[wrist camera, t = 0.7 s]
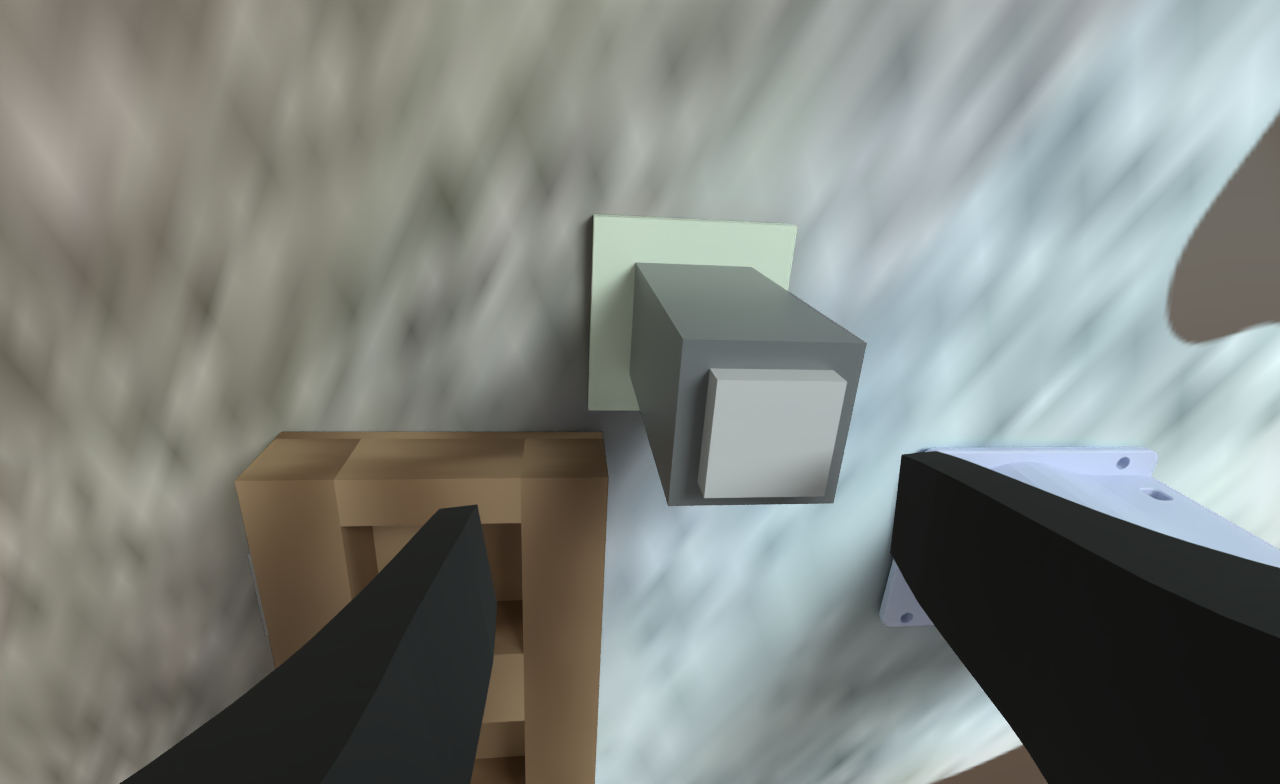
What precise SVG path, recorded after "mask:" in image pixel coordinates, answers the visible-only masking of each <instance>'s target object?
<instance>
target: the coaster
mask: <svg viewBox="0 0 1280 784" xmlns="http://www.w3.org/2000/svg"><path fill="white" fill-rule="evenodd" d="M797 227H798V226H796V225H793V224H784V223H763V222H743V221H722V220H701V219H680V218H660V217H639V216H618V215H597V214H593V245H592V280H591V314H590V348H589V382H588V410H589V411H640V409H639V405H638V402H637V398H636V395H635V392H634V388H633V385H632V381H631V378H630V375H629V373H630V355H631V338H632V320H633V302H634V284H635V266H636V262H637V263H663V264H690V265H716V266H742V267H752V268H754V269H755V270H757V271H758V272H760V273H761V274H763V275H764V276H766V277H767V278H769V279H770V280H772V281H773V282H775V283H776V284H778V285H780V286H781V287H783V288H784V289H786V290H787V291H788V286H789V279H790V273H791V266H792V259H793V253H794V246H795V240H796V233H797Z"/></svg>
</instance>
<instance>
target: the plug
mask: <svg viewBox="0 0 1280 784" xmlns="http://www.w3.org/2000/svg"><path fill="white" fill-rule="evenodd" d="M866 344H867V343H866V342H864V341H863V340H861V339H860V338H858V337H857V336H855V335H854V334H852V333H851V332H849V331H848V330H846V329H845V328H843V327H842V326H840V325H839V324H837V323H836V322H834V321H833V320H831V319H829V318H828V317H826V316H825V315H823V314H822V313H820V312H819V311H817V310H816V309H814V308H813V307H811V306H810V305H808V304H807V303H805V302H804V301H802V300H801V299H799V298H798V297H796V296H795V295H793V294H792V293H790V292H789V291H787V290H786V289H784V288H783V287H781V286H780V285H778V284H776V283H775V282H773V281H772V280H770V279H769V278H767V277H766V276H764V275H763V274H761V273H760V272H758V271H757V270H755V269H754V268H752V267H742V266H716V265H690V264H663V263H637V262H636V266H635V284H634V302H633V320H632V338H631V355H630V373H629V375H630V378H631V381H632V385H633V388H634V392H635V395H636V398H637V402H638V405H639V409H640V412H641V415H642V419H643V422H644V426H645V429H646V432H647V436H648V439H649V443H650V446H651V449H652V453H653V456H654V459H655V463H656V466H657V470H658V473H659V476H660V480H661V483H662V487H663V490H664V493H665V497H666V500H667V504H668V506H693V505H756V504H819V503H833V502H834V498H835V493H836V488H837V483H838V478H839V474H840V469H841V464H842V459H843V454H844V449H845V445H846V440H847V435H848V430H849V425H850V421H851V416H852V411H853V406H854V401H855V397H856V392H857V387H858V382H859V377H860V373H861V368H862V363H863V358H864V353H865V349H866Z"/></svg>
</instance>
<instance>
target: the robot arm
mask: <svg viewBox="0 0 1280 784" xmlns="http://www.w3.org/2000/svg"><path fill="white" fill-rule="evenodd" d="M1157 462H1158V455H1157V453H1156V452H1154V451H1153V450H1151V449H1149V448H1146V447H966V448H930V449H928V450H927V451H925V452H921V453H913V454H904V455H902V457H901V465H900V474H899V483H898V491H897V500H896V508H895V517H894V526H893V534H892V543H891V551H890V553H891V555H892V557H893V562H892V566H891V570H890V573H889V577H888V581H887V585H886V589H885V592H884V596H883V600H882V604H881V608H880V612H879V617H880V619H881V620H882V622H883V623H884V625H886V626H887V627H907V626H930V625H935V627H936V628H937V629H938V631H939V632H940V633H941V635H942V636H943V637H944V639H945V640H946V641H947V643H948V644H949V645H950V647H951V648H952V649H953V651H954V652H955V653H956V655H957V656H958V657H959V659H960V660H961V661H962V663H963V664H964V665H965V667H966V668H967V669H968V671H969V672H970V673H971V674H972V676H973V677H974V678H975V680H976V681H977V682H978V684H979V685H980V686H981V688H982V689H983V690H984V692H985V693H986V694H987V696H988V697H989V698H990V700H991V701H992V702H993V704H994V705H995V706H996V708H997V709H998V710H999V711H1000V713H1001V714H1002V715H1003V717H1004V718H1005V719H1006V721H1007V722H1008V723H1009V725H1010V726H1011V728H1012V729H1013V731H1014V732H1015V733H1016V735H1017V736H1018V738H1019V739H1020V741H1021V742H1022V743H1023V745H1024V746H1025V748H1026V749H1027V750H1028V752H1029V753H1030V755H1031V757H1032V758H1033V760H1034V762H1035V763H1036V765H1037V766H1038V768H1039V770H1040V771H1041V773H1042V775H1043V776H1044V778H1045V779H1046V781H1047V783H1048V784H1280V549H1278V548H1276V547H1275V546H1273V545H1271V544H1269V543H1268V542H1266V541H1264V540H1262V539H1261V538H1259V537H1257V536H1255V535H1254V534H1252V533H1250V532H1248V531H1246V530H1245V529H1243V528H1241V527H1239V526H1238V525H1236V524H1234V523H1232V522H1231V521H1229V520H1227V519H1225V518H1224V517H1222V516H1220V515H1218V514H1217V513H1215V512H1213V511H1211V510H1209V509H1208V508H1206V507H1204V506H1202V505H1201V504H1199V503H1197V502H1195V501H1194V500H1192V499H1190V498H1188V497H1187V496H1185V495H1183V494H1181V493H1180V492H1178V491H1176V490H1174V489H1173V488H1171V487H1169V486H1167V485H1165V484H1164V483H1162V482H1160V481H1158V480H1157V479H1155V478H1153V477H1151V476H1152V474H1153V472H1154V469H1155V467H1156V465H1157ZM496 613H497V601H496V596H495V591H494V586H493V581H492V576H491V571H490V566H489V561H488V556H487V551H486V546H485V540H484V535H483V530H482V525H481V520H480V515H479V510H478V505H477V504H476V505H467V506H459V507H450V508H442V509H439V510H438V511H437V512H436V513H435V514H434V515H433V516H432V517H431V518H430V519H429V520H428V521H427V522H426V523H425V524H424V525H423V526H422V527H421V528H420V530H419V531H418V532H417V533H416V534H415V535H414V536H413V537H412V538H411V539H410V541H409V542H408V543H407V544H406V545H405V546H404V547H403V548H402V549H401V550H400V551H399V552H398V553H397V555H396V556H395V557H394V558H393V559H392V560H391V561H390V562H389V563H388V564H387V565H386V566H385V567H384V568H383V569H382V570H381V571H380V572H379V573H378V574H377V575H376V577H375V578H374V579H373V580H372V581H371V582H370V583H369V584H368V585H367V586H366V587H365V588H364V589H363V590H362V591H361V592H360V593H359V594H358V595H357V596H356V597H355V598H353V599H352V600H351V601H350V602H349V603H348V604H347V605H346V606H345V607H344V608H343V609H342V610H341V611H340V612H339V613H338V614H337V615H336V616H335V617H334V618H332V619H331V620H330V621H329V622H328V623H327V624H326V625H325V626H324V627H323V628H322V629H321V630H320V631H319V632H318V633H317V634H316V635H315V636H314V637H312V638H311V639H310V640H309V641H308V642H307V643H306V644H305V645H303V646H302V647H301V648H300V649H299V650H298V651H297V652H295V653H294V654H293V655H292V656H291V657H290V658H288V659H287V660H286V661H285V662H284V663H282V664H281V665H280V666H279V667H278V668H276V669H275V670H274V671H273V672H271V673H270V674H269V675H268V676H267V677H265V678H264V679H263V680H262V681H260V682H259V683H258V684H257V685H255V686H254V687H253V688H252V689H250V690H249V691H248V692H247V693H245V694H244V695H243V696H242V697H240V698H239V699H238V700H236V701H235V702H234V703H233V704H231V705H230V706H229V707H227V708H226V709H225V710H223V711H222V712H220V713H219V714H218V715H216V716H215V717H213V718H212V719H211V720H209V721H208V722H206V723H205V724H204V725H202V726H201V727H200V728H198V729H197V730H195V731H194V732H193V733H191V734H190V735H188V736H187V737H186V738H184V739H183V740H181V741H180V742H179V743H177V744H176V745H175V746H173V747H172V748H170V749H169V750H168V751H166V752H165V753H163V754H162V755H161V756H159V757H158V758H156V759H155V760H154V761H152V762H151V763H150V764H148V765H147V766H145V767H144V768H142V769H141V770H139V771H138V772H136V773H135V774H133V775H132V776H130V777H129V778H127V779H126V780H124V781H123V782H121V783H120V784H470V783H471V778H472V772H473V767H474V762H475V757H476V751H477V746H478V741H479V736H480V731H481V725H482V720H483V715H484V710H485V704H486V699H487V694H488V688H489V683H490V678H491V672H492V666H493V658H494V645H495V630H496ZM905 613H906V614H905ZM903 614H904V615H903Z"/></svg>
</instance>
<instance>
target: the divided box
mask: <svg viewBox="0 0 1280 784" xmlns="http://www.w3.org/2000/svg"><path fill="white" fill-rule="evenodd" d="M608 478H609V477H608V470H607V463H606V456H605V449H604V442H603V435H602V432H281V433H280V434H279V435H278V436H277V437H276V438H275V439H274V440H273V441H272V443H271V444H270V445H269V446H268V447H267V448H266V449H265V450H264V451H263V452H262V453H261V454H260V455H259V456H258V457H257V458H256V459H255V460H254V461H253V462H252V463H251V464H250V465H249V467H248V468H247V469H246V470H245V471H244V472H243V473H242V474H241V475H240V476H239V477H238V478H237V479H236V480H235V485H236V490H237V494H238V499H239V503H240V508H241V512H242V517H243V522H244V526H245V531H246V535H247V540H248V544H249V549H250V551H249V552H248V554H247V555H248V560H249V564H250V569H251V573H252V578H253V582H254V587H255V591H256V596H257V600H258V605H259V609H260V614H261V618H262V623H263V627H264V632H265V635H268V636H269V640H270V645H271V649H272V654H273V658H274V663H275V667H276V668H278V667H279V666H280V665H281V664H282V663H284V662H285V661H286V660H287V659H288V658H290V657H291V656H292V655H293V654H294V653H295V652H297V651H298V650H299V649H300V648H301V647H302V646H303V645H305V644H306V643H307V642H308V641H309V640H310V639H311V638H312V637H314V636H315V635H316V634H317V633H318V632H319V631H320V630H321V629H322V628H323V627H324V626H325V625H326V624H327V623H328V622H329V621H330V620H331V619H332V618H334V617H335V616H336V615H337V614H338V613H339V612H340V611H341V610H342V609H343V608H344V607H345V606H346V605H347V604H348V603H349V602H350V601H351V600H352V599H353V598H355V597H356V596H357V595H358V594H359V593H360V592H361V591H362V590H363V589H364V588H365V587H366V586H367V585H368V584H369V583H370V582H371V581H372V580H373V579H374V578H375V577H376V575H377V574H378V573H379V572H380V571H381V570H382V569H383V568H384V567H385V566H386V565H387V564H388V563H389V562H390V561H391V560H392V559H393V558H394V557H395V556H396V555H397V553H398V552H399V551H400V550H401V549H402V548H403V547H404V546H405V545H406V544H407V543H408V542H409V541H410V539H411V538H412V537H413V536H414V535H415V534H416V533H417V532H418V531H419V530H420V528H421V527H422V526H423V525H424V524H425V523H426V522H427V521H428V520H429V519H430V518H431V517H432V516H433V515H434V514H435V513H436V512H437V511H438V510H439V509H442V508H450V507H459V506H467V505H476V504H477V505H478V510H479V515H480V520H481V525H482V530H483V535H484V540H485V546H486V551H487V556H488V561H489V566H490V571H491V576H492V581H493V586H494V591H495V596H496V601H497V613H496V630H495V645H494V658H493V666H492V672H491V678H490V683H489V688H488V694H487V699H486V704H485V710H484V715H483V720H482V725H481V731H480V736H479V741H478V746H477V751H476V757H475V762H474V767H473V772H472V778H471V783H470V784H595V764H596V742H597V720H598V698H599V676H600V654H601V632H602V610H603V588H604V566H605V544H606V522H607V500H608Z"/></svg>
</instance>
